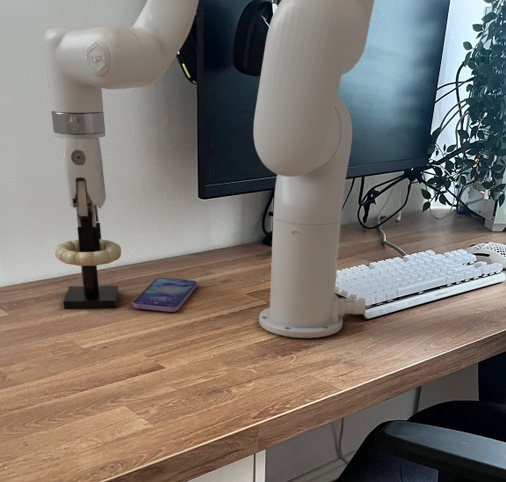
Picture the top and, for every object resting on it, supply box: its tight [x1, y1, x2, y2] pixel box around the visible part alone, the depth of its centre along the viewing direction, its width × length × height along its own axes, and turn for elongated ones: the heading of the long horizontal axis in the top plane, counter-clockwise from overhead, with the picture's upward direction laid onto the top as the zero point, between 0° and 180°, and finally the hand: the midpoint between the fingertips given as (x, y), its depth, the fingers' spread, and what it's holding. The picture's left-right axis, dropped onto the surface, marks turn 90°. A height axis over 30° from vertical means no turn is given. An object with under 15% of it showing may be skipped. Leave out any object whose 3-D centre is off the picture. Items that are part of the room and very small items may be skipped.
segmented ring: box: [54, 238, 122, 267], centre depth 108 cm, size 10×10×2 cm
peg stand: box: [63, 265, 119, 310], centre depth 110 cm, size 8×8×7 cm
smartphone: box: [132, 277, 198, 313], centre depth 114 cm, size 7×1×15 cm
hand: (91, 249), depth 111 cm, fingers closed on segmented ring, 2 cm apart
